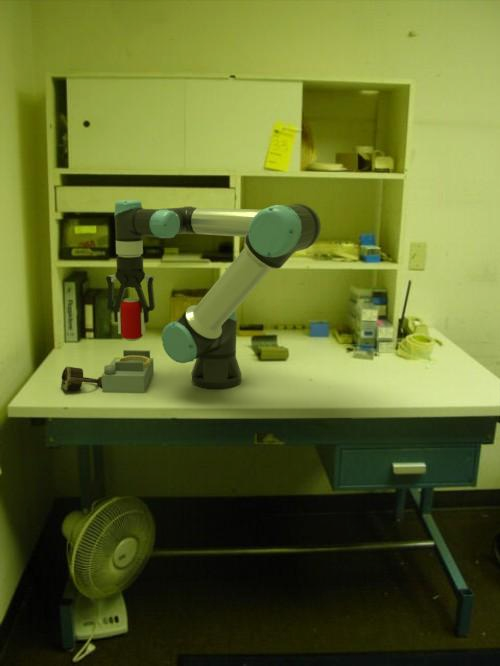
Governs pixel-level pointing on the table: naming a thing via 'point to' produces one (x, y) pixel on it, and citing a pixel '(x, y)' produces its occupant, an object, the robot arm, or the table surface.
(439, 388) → the table surface
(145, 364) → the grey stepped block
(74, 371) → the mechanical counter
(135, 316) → the beverage can
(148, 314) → the robot arm
